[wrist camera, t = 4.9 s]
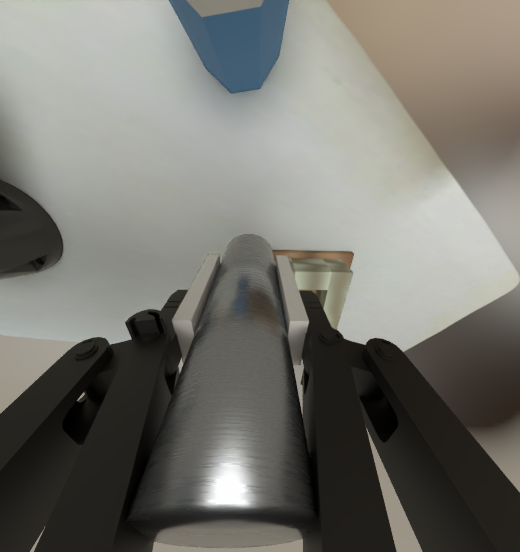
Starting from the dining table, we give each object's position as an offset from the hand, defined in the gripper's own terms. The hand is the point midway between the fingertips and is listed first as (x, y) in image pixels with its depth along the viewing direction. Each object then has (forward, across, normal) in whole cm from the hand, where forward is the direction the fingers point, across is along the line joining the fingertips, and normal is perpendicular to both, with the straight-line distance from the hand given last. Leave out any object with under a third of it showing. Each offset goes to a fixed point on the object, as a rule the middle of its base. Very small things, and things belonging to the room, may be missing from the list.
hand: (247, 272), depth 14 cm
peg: (+3, 0, 0) cm, 3 cm away
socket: (+20, +9, -13) cm, 25 cm away
